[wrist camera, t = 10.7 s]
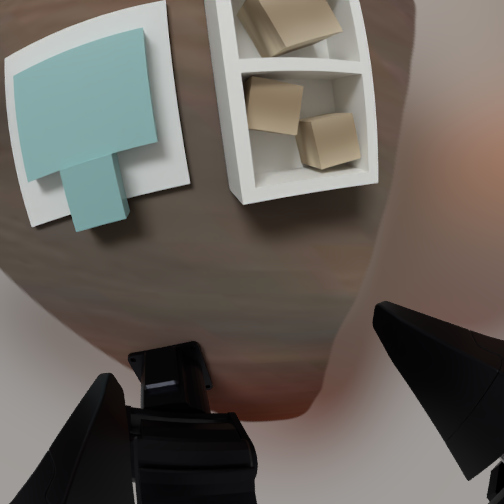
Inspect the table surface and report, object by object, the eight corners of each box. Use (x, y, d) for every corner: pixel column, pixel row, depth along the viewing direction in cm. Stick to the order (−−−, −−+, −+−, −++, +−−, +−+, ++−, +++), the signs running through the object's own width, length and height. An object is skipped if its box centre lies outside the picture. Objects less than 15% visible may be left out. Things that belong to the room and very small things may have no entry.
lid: (170, 201, 18) (169, 208, 16) (51, 233, 16) (42, 242, 15) (144, 33, 13) (142, 25, 11) (21, 77, 11) (10, 75, 10)
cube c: (313, 44, 16) (343, 31, 12) (263, 61, 15) (286, 47, 12) (287, 0, 14) (312, -22, 10) (236, 14, 14) (252, -10, 10)
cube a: (337, 152, 19) (360, 157, 17) (301, 162, 19) (321, 169, 16) (328, 113, 18) (352, 112, 15) (291, 121, 18) (310, 121, 15)
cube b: (278, 133, 18) (296, 135, 15) (234, 127, 17) (245, 127, 14) (284, 91, 17) (303, 86, 14) (240, 83, 16) (252, 76, 13)
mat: (190, 182, 18) (190, 183, 18) (34, 225, 16) (31, 227, 16) (165, 2, 12) (165, 0, 12) (7, 59, 10) (4, 58, 10)
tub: (346, 171, 20) (378, 182, 17) (229, 189, 19) (243, 205, 15) (323, -9, 14) (351, -27, 10) (202, -13, 12) (210, -41, 9)
